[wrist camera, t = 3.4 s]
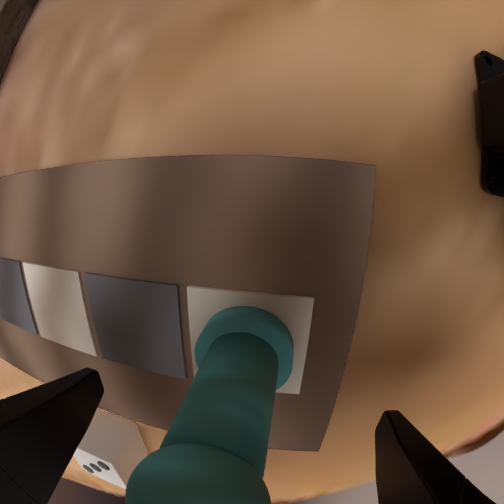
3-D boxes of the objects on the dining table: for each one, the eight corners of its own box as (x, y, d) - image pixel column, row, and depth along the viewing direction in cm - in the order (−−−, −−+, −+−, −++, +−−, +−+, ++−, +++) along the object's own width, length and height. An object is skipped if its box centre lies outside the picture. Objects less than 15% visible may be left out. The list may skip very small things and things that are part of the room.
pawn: (298, 310, 10) (281, 562, 2) (288, 385, 11) (264, 580, 3) (200, 300, 11) (64, 496, 3) (204, 374, 12) (124, 546, 4)
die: (136, 422, 16) (110, 464, 12) (148, 452, 17) (128, 491, 13) (90, 405, 16) (62, 440, 12) (105, 437, 17) (82, 470, 14)
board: (367, 165, 10) (377, 164, 8) (318, 435, 14) (318, 453, 12) (-39, 188, 13) (-51, 190, 12) (-8, 341, 17) (-17, 347, 16)
